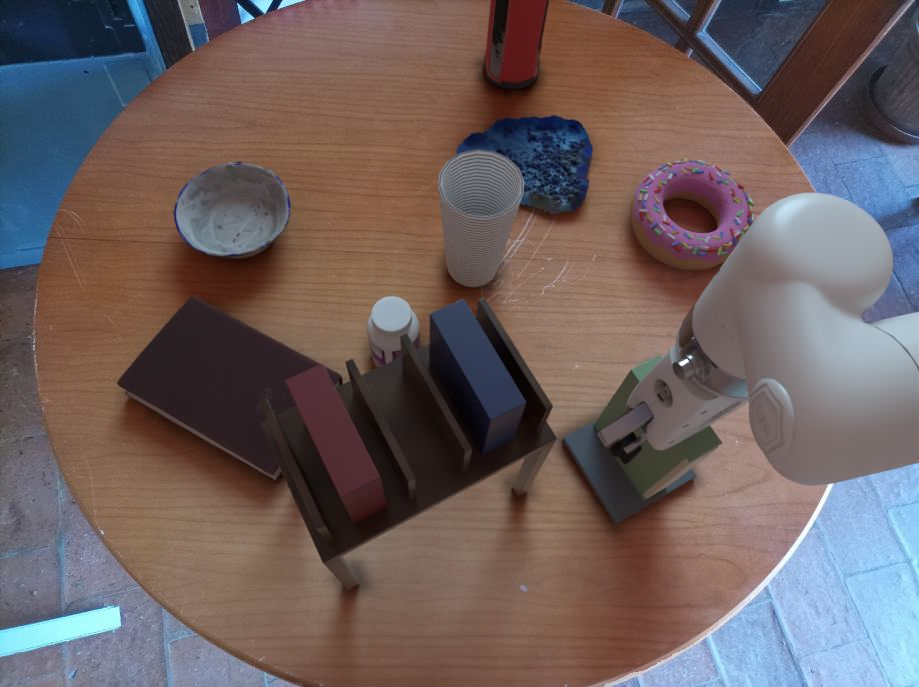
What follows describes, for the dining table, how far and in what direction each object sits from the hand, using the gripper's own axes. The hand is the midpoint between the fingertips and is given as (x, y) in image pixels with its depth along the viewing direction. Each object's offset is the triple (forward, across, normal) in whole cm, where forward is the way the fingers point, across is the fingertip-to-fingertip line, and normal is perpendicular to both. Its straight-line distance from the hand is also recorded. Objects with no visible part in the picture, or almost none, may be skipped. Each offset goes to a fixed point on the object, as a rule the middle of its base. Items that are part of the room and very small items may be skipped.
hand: (661, 423), depth 62 cm
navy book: (-6, -16, +8) cm, 19 cm away
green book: (+11, 0, 0) cm, 11 cm away
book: (+12, -33, +26) cm, 44 cm away
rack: (+12, -21, +8) cm, 25 cm away
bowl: (+12, -25, +45) cm, 53 cm away
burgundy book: (-6, -26, +8) cm, 28 cm away
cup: (+12, -3, +28) cm, 31 cm away
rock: (+12, +10, +38) cm, 41 cm away
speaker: (+12, +17, +53) cm, 57 cm away
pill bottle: (+12, -16, +22) cm, 30 cm away
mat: (+12, 0, 0) cm, 12 cm away
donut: (+12, +23, +21) cm, 33 cm away
